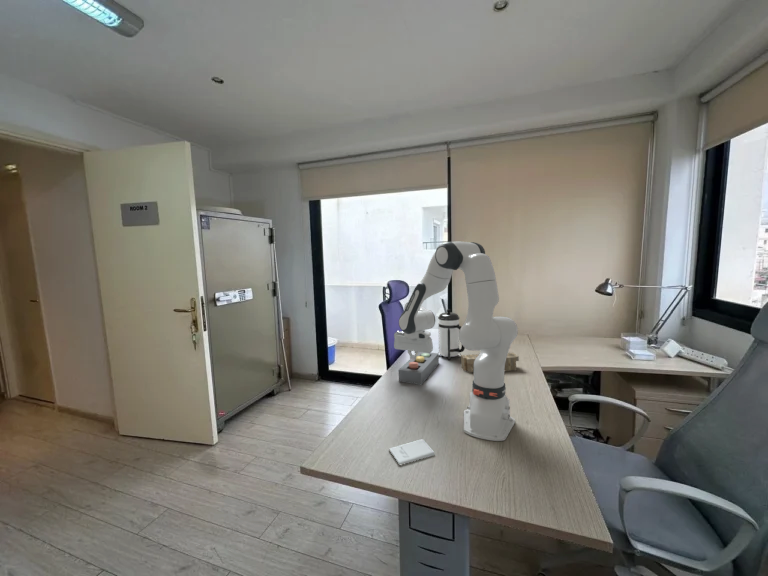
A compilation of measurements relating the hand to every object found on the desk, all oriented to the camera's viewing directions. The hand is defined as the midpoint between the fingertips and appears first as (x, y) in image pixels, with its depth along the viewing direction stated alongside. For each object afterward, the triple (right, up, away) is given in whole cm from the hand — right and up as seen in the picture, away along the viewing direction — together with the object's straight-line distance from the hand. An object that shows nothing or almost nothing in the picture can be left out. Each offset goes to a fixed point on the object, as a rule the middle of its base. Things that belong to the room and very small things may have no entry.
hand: (413, 358), depth 160 cm
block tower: (+43, -8, +11) cm, 45 cm away
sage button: (+9, -4, +18) cm, 21 cm away
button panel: (+5, -9, +10) cm, 14 cm away
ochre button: (+4, -3, +9) cm, 11 cm away
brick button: (0, -4, 0) cm, 4 cm away
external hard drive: (-6, -18, -59) cm, 62 cm away
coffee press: (+27, -6, +32) cm, 42 cm away
